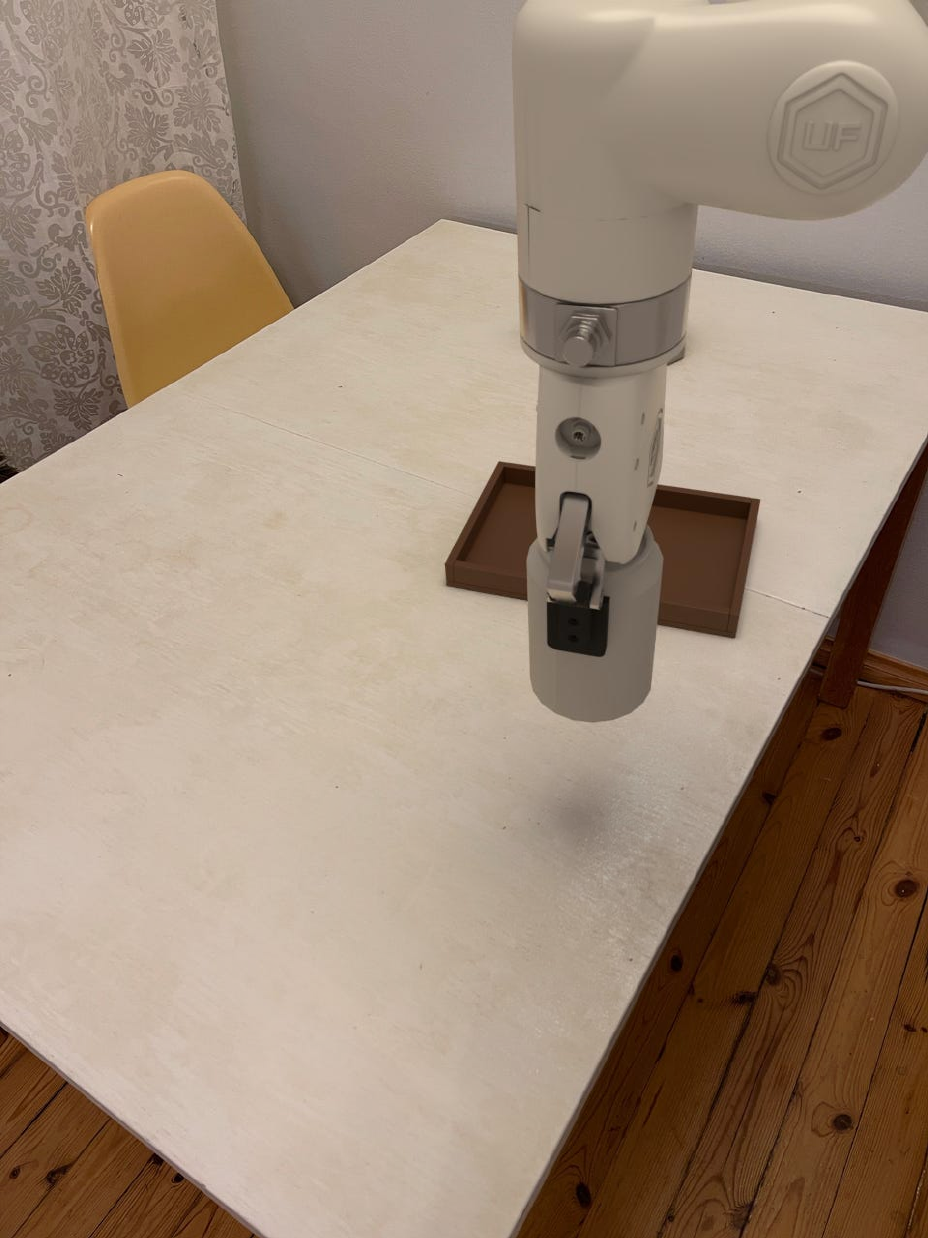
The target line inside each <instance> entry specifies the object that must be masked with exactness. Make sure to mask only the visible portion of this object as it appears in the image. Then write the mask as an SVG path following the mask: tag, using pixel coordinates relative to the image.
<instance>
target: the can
mask: <svg viewBox="0 0 928 1238" xmlns="http://www.w3.org/2000/svg"><path fill="white" fill-rule="evenodd" d="M585 543H590V544H597V545H598V543H597V541H596V539H595V537H594V534H593V532H590V531H588V532H587V537H586V542H585ZM551 554H552V550H551V551H550V552H549V553H547V552H546V551H545V550H544V549H543V548H542V547H541V545H540V544H539V541H538V537H537V539H536V540H535V541H534V542H533V544H532V545H531V546H530V548H529V552H528V556H527V560H526V562H527V596H528V600H527V623H528V625H527V627H528V628H527V629H528V631H527V632H528V655H529V656H528V659H529V660H528V661H529V662H528V664H529V679H530V684H531V689H532V692H533V693H534V695H535V696H536V697H537V699H538V700H539V702H540V703H541V704H542V705H543V706H545V708H547V709H549V710H550V711H551V712H552V713H554V714H555V715H558V716H561V717H563V718H566V719H569V720H571V721H576V722H585V723H593V724H594V723H601V722H609V721H615V720H617V719H620V718H622V717H624V716H627V715H629V714H632V713H633V712H634V711H635V710H636V709H638V708H639V707H640V706H641V705H642V704H644V702H645V701H646V699H647V697H648V696H649V694H650V693H651V691H652V682H653V670H654V660H655V659H654V658H655V650H656V641H657V628H658V624H657V620H658V610H659V599H660V589H661V579H662V568H663V555H662V553H661V550H660V548H659V546H658V544H657V543H656V542H655V541H654V537H653V534H652V532H651V530H650V527H649V526H648V525H647V524H646V526H645V529H644V533H643V536H642V539H641V542H640V545H639V548H638V551H637V553H636V555H635V556H634V557H633V558H632V559H631V560H630V561H628V562H627V563H625V564H620V562H610V561H608V568H607V575H606V582H605V590H604V595H605V596H609V597H610V602H609V622H608V642H607V649H606V653H605V655H604V656H603V657H595V656H590V655H584V654H578V653H572V652H567V651H561V650H555V649H552V648H550V647H549V646H548V645H547V582H548V577H549V571H550V562H551ZM594 564H595V559H589V558H582V563H581V569H580V576H581V581H586V582H588V583H590V584H592V579H593V571H594Z"/></svg>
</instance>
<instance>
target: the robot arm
mask: <svg viewBox="0 0 928 1238" xmlns="http://www.w3.org/2000/svg"><path fill="white" fill-rule="evenodd" d="M511 47H512V49H511V52H512V54H511V67H512V74H511V75H512V101H513V103H512V104H513V106H512V107H513V135H514V136H513V137H514V138H513V139H514V169H515V197H516V237H517V239H516V241H517V242H516V243H517V276H518V277H517V278H518V279H517V280H518V281H517V282H518V313H519V343H520V347H521V349H522V351H523V353H524V354H525V355H526V357H528V358H529V359H530V360H531V361H532V362H534V363H536V364H537V365H539V367H538V368H539V369H538V386H537V403H536V406H535V411H536V429H535V431H536V433H535V434H536V435H535V466H536V472H535V503H536V526H537V536H538V541H539V544H540V545H541V547H542V548H543V549H544V550H545V551H546V552H547V553H549V552H550V551H551V550H552V554H551V562H550V571H549V577H548V582H547V645H548V646H549V647H550V648H552V649H555V650H561V651H567V652H572V653H578V654H584V655H590V656H595V657H603V656H604V655H605V653H606V649H607V642H608V622H609V602H610V597H609V596H605V595H604V590H605V582H606V575H607V568H608V561H610V562H620V564H625V563H627V562H628V561H630V560H631V559H632V558H633V557H634V556H635V555H636V553H637V551H638V548H639V545H640V542H641V539H642V536H643V533H644V529H645V526H646V523H647V520H648V516H649V513H650V509H651V506H652V503H653V499H654V495H655V492H656V488H657V485H658V484H659V481H660V477H661V473H662V466H663V459H664V436H665V435H664V434H665V412H666V392H667V374H668V373H667V371H668V364H667V363H668V362H669V361H671V360H672V359H673V358H674V357H676V356H677V355H678V354H679V353H680V351H681V350H682V349H683V347H684V344H685V345H686V338H687V328H688V321H689V309H690V300H691V299H690V298H691V287H692V279H693V265H694V264H693V263H694V255H695V254H694V253H695V244H696V243H695V242H696V233H697V223H698V214H699V206H702V207H703V206H704V207H708V208H715V209H720V210H725V211H726V210H727V211H732V212H737V213H743V214H747V215H753V216H760V217H765V218H771V219H776V220H777V219H778V220H787V221H802V222H803V221H805V222H813V221H825V220H831V219H838V218H843V217H847V216H849V215H853V214H856V213H859V212H861V211H863V210H866V209H868V208H871V207H872V206H874V205H876V204H877V203H879V202H881V201H883V200H884V199H886V198H887V197H889V196H890V195H891V194H893V193H894V192H896V190H898V189H899V188H900V187H901V186H902V185H903V184H904V183H905V182H906V181H907V180H908V179H909V178H910V177H911V176H912V175H913V173H915V171H916V170H917V169H918V167H919V166H920V165H921V163H922V162H923V160H924V159H925V157H926V155H927V154H928V0H725V2H724V3H716V4H715V3H714V4H713V3H712V4H711V3H710V1H709V0H526V1H525V2H524V3H523V5H522V8H521V9H520V11H519V12H518V14H517V16H516V19H515V23H514V25H513V32H512V46H511ZM588 531H590V532H593V534H594V537H595V539H596V541H597V543H598V545H597V544H590V543H585V542H586V537H587V532H588ZM582 558H589V559H595V564H594V571H593V579H592V584H590V583H588V582H586V581H581V576H580V569H581V563H582Z"/></svg>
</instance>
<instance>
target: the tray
mask: <svg viewBox="0 0 928 1238" xmlns="http://www.w3.org/2000/svg"><path fill="white" fill-rule="evenodd" d="M535 472H536V465H535V466H534V465H528V464H527V465H526V464H521V463H513V462H508V461H501V460H498V461H497V463H496V465H495V467H494V469H493V471H492V473H491V475H490V476H489V479H488V481H487V483H486V484H485V486H484V488H483V490H482V492H481V494H480V496H479V498H478V500H477V502H476V503H475V505H474V507H473V509H472V511H471V513H470V515H469V516H468V518H467V521H466V522H465V525H463V528H462V531H461V532H460V533H459V536H458V538H457V540H456V542H454V545H453V547H452V549H451V551H450V553H449V555H448V556H447V559H446V560H445V562H444V572H445V585H446V586H448V587H453V588H459V589H464V590H470V591H475V592H480V593H486V594H490V595H491V594H492V595H495V596H502V597H508V598H512V599H519V600H524V601H528V596H527V562H526V560H527V556H528V552H529V548H530V546H531V545H532V544H533V542H534V541H535V540H536V539H537V537H538V536H537V526H536V503H535ZM760 505H761V499H760V498H754V497H750V496H743V495H736V494H735V495H734V494H727V493H721V492H714V491H707V490H702V489H701V490H700V489H693V488H686V487H682V486H681V487H679V486H672V485H666V484H659V483H658V485H657V488H656V492H655V495H654V499H653V503H652V506H651V509H650V513H649V516H648V520H647V523H646V524H647V525H648V526H649V527H650V530H651V532H652V534H653V537H654V541H655V542H656V543H657V544H658V546H659V548H660V550H661V553H662V555H663V568H662V579H661V589H660V599H659V610H658V620H657V625H662V626H666V627H672V628H677V629H683V630H688V631H694V632H699V633H705V634H710V635H715V636H721V637H727V638H732V639H735V638H736V636H737V631H738V626H739V620H740V617H741V616H740V615H741V611H742V605H743V599H744V593H745V587H746V582H747V576H748V571H749V566H750V560H751V556H752V555H751V554H752V549H753V544H754V538H755V533H756V527H757V521H758V515H759V509H760Z"/></svg>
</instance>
